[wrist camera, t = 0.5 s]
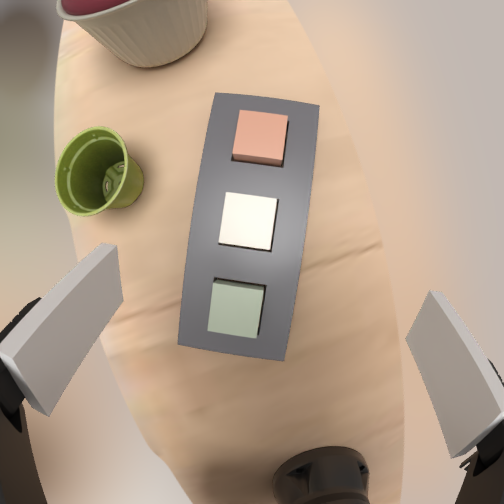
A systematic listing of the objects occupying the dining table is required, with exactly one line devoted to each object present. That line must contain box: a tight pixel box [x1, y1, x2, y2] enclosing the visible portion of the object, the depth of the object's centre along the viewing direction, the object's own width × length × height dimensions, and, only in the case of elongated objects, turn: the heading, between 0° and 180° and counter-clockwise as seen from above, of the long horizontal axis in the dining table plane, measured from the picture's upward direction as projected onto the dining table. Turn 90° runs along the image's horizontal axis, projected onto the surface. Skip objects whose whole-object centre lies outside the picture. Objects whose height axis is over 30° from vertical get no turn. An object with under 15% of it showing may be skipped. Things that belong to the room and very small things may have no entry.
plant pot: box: [55, 126, 144, 216], centre depth 29 cm, size 9×9×9 cm
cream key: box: [219, 192, 277, 250], centre depth 29 cm, size 5×5×3 cm
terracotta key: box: [232, 110, 288, 167], centre depth 29 cm, size 5×5×3 cm
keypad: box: [178, 93, 319, 361], centre depth 32 cm, size 29×12×3 cm, turn 172°
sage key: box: [207, 279, 264, 338], centre depth 30 cm, size 5×5×3 cm
